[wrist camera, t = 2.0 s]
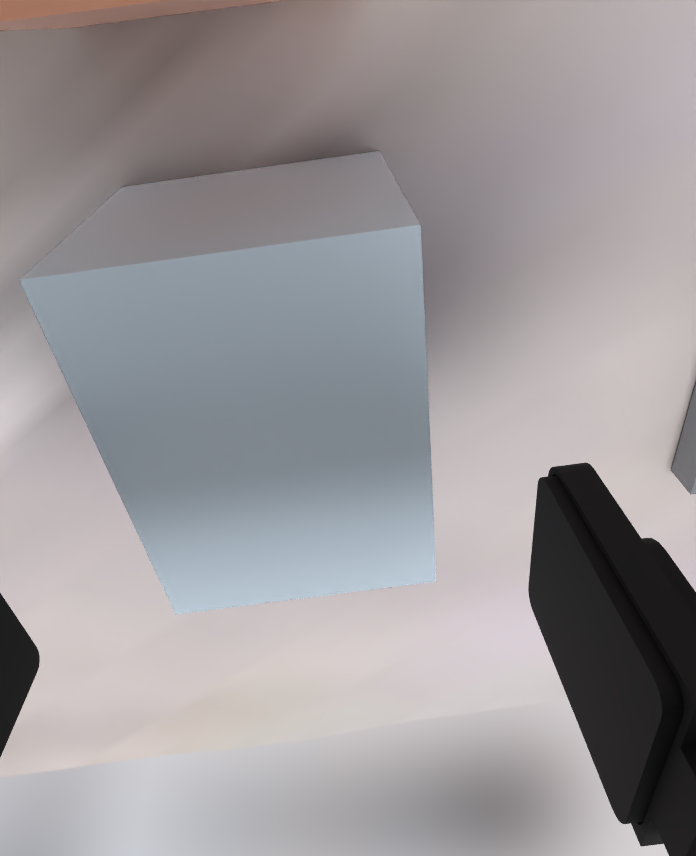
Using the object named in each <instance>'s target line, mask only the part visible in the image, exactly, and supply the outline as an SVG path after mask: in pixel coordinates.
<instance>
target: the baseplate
mask: <svg viewBox="0 0 696 856" xmlns="http://www.w3.org/2000/svg"><path fill="white" fill-rule="evenodd" d="M671 471H672V472H673V473H674V475H675V476H676V477H677V478H678V480H679V481H680V482H681V483H682V485H683V486H684V487H685V488H686V489H687V491H688V492H689V493H690V494H696V384H695V387H694V391H693V394H692V398H691V402H690V405H689V409H688V412H687V416H686V419H685V423H684V427H683V430H682V434H681V437H680V441H679V444H678V448H677V452H676V455H675V459H674V462H673V466H672V469H671Z"/></svg>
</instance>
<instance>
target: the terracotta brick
mask: <svg viewBox="0 0 696 856" xmlns="http://www.w3.org/2000/svg"><path fill="white" fill-rule="evenodd" d="M275 1H283V0H0V31H1V30H28V29H54V28H74V27H82V26H89V25H97V24H105V23H113V22H120V21H128V20H136V19H144V18H151V17H159V16H167V15H175V14H182V13H190V12H198V11H206V10H213V9H221V8H229V7H237V6H244V5H252V4H260V3H268V2H275Z"/></svg>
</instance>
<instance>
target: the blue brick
mask: <svg viewBox="0 0 696 856" xmlns="http://www.w3.org/2000/svg"><path fill="white" fill-rule="evenodd" d="M19 281H20V283H21V286H22V288H23V290H24V292H25V294H26V296H27V298H28V301H29V303H30V305H31V307H32V309H33V311H34V313H35V315H36V318H37V320H38V322H39V324H40V326H41V328H42V330H43V333H44V335H45V337H46V339H47V341H48V343H49V345H50V348H51V350H52V352H53V354H54V356H55V358H56V360H57V362H58V365H59V367H60V369H61V371H62V373H63V375H64V377H65V380H66V382H67V384H68V386H69V388H70V390H71V392H72V394H73V397H74V399H75V401H76V403H77V405H78V407H79V409H80V412H81V414H82V416H83V418H84V420H85V422H86V424H87V427H88V429H89V431H90V433H91V435H92V437H93V439H94V441H95V444H96V446H97V448H98V450H99V452H100V454H101V456H102V459H103V461H104V463H105V465H106V467H107V469H108V471H109V474H110V476H111V478H112V480H113V482H114V484H115V486H116V488H117V491H118V493H119V495H120V497H121V499H122V501H123V503H124V506H125V508H126V510H127V512H128V514H129V516H130V518H131V520H132V523H133V525H134V527H135V529H136V531H137V533H138V535H139V538H140V540H141V542H142V544H143V546H144V548H145V550H146V553H147V555H148V557H149V559H150V561H151V563H152V565H153V567H154V570H155V572H156V574H157V576H158V578H159V580H160V582H161V585H162V587H163V589H164V591H165V593H166V595H167V597H168V599H169V602H170V604H171V606H172V608H173V610H174V612H175V614H183V613H191V612H199V611H207V610H215V609H222V608H230V607H238V606H246V605H254V604H262V603H270V602H278V601H286V600H294V599H302V598H310V597H318V596H325V595H333V594H341V593H349V592H357V591H365V590H373V589H381V588H389V587H397V586H405V585H413V584H421V583H428V582H436V561H435V538H434V516H433V493H432V470H431V447H430V424H429V402H428V379H427V356H426V333H425V310H424V288H423V265H422V242H421V224H420V222H419V221H418V219H417V217H416V215H415V214H414V212H413V210H412V208H411V207H410V205H409V203H408V201H407V199H406V198H405V196H404V194H403V192H402V191H401V189H400V187H399V185H398V184H397V182H396V180H395V178H394V176H393V175H392V173H391V171H390V169H389V168H388V166H387V164H386V162H385V161H384V159H383V157H382V155H381V153H380V152H379V151H374V152H367V153H359V154H352V155H345V156H338V157H331V158H324V159H317V160H310V161H303V162H295V163H288V164H281V165H274V166H267V167H260V168H253V169H246V170H239V171H231V172H224V173H217V174H210V175H203V176H196V177H189V178H182V179H175V180H167V181H160V182H153V183H146V184H139V185H132V186H125V187H121V188H120V189H119V190H118V191H117V192H116V193H115V194H113V195H112V196H111V197H110V198H109V199H108V200H107V201H106V202H105V203H104V204H102V205H101V206H100V207H99V208H98V209H97V210H96V211H95V212H94V213H92V214H91V215H90V216H89V217H88V218H87V219H86V220H85V221H84V222H83V223H81V224H80V225H79V226H78V227H77V228H76V229H75V230H74V231H73V232H72V233H70V234H69V235H68V236H67V237H66V238H65V239H64V240H63V241H62V242H60V243H59V244H58V245H57V246H56V247H55V248H54V249H53V250H52V251H51V252H49V253H48V254H47V255H46V256H45V257H44V258H43V259H42V260H41V261H40V262H38V263H37V264H36V265H35V266H34V267H33V268H32V269H31V270H30V271H28V272H27V273H26V274H25V275H24V276H23V277H22V278H21V279H20V280H19Z"/></svg>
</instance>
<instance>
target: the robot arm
mask: <svg viewBox="0 0 696 856" xmlns="http://www.w3.org/2000/svg"><path fill="white" fill-rule="evenodd" d="M529 598H530V603H531V607H532V610H533V612H534V615H535V617H536V620H537V622H538V625H539V627H540V630H541V632H542V635H543V637H544V640H545V642H546V645H547V647H548V650H549V652H550V655H551V657H552V660H553V662H554V665H555V667H556V670H557V672H558V675H559V677H560V679H561V682H562V684H563V687H564V689H565V692H566V694H567V697H568V699H569V702H570V704H571V707H572V709H573V712H574V714H575V717H576V719H577V721H578V724H579V727H580V729H581V732H582V734H583V737H584V739H585V741H586V744H587V747H588V749H589V752H590V754H591V757H592V759H593V762H594V764H595V767H596V769H597V772H598V774H599V777H600V779H601V782H602V784H603V787H604V789H605V792H606V794H607V797H608V799H609V802H610V804H611V807H612V809H613V811H614V813H615V815H616V817H617V818H618V820H619V821H620V822H621V823H623V824H629V823H631V824H632V826H633V829H634V831H635V834H636V836H637V838H638V841H639V843H640V846H648V845H656V844H664V845H665V847H666V849H667V852H668V854H669V856H696V592H695V591H694V589H693V588H692V586H691V585H690V584H689V582H688V581H687V579H686V578H685V577H684V575H683V574H682V572H681V571H680V570H679V568H678V567H677V565H676V564H675V563H674V561H673V560H672V558H671V557H670V556H669V554H668V553H667V551H666V550H665V549H664V548H663V547H662V546H661V544H660V543H659V542H657V541H656V540H654V539H652V538H643V539H641V537H640V536H639V534H638V533H637V532H636V530H635V529H634V527H633V526H632V524H631V523H630V521H629V520H628V518H627V517H626V515H625V514H624V512H623V511H622V510H621V508H620V507H619V505H618V504H617V502H616V501H615V499H614V498H613V496H612V495H611V493H610V492H609V490H608V489H607V487H606V486H605V485H604V483H603V482H602V480H601V479H600V477H599V476H598V474H597V473H596V471H595V470H594V468H593V467H592V466H591V465H590V464H588V463H580V464H572V465H565V466H557V467H552V468H551V469H550V470H549V474H548V477H541V478H540V479H539V481H538V488H537V499H536V510H535V521H534V532H533V543H532V554H531V565H530V576H529ZM38 668H39V652H38V649H37V647H36V646H35V644H34V643H33V641H32V640H31V638H30V637H29V635H28V634H27V632H26V631H25V629H24V628H23V626H22V625H21V623H20V622H19V620H18V619H17V617H16V616H15V614H14V613H13V611H12V610H11V608H10V607H9V605H8V604H7V602H6V601H5V599H4V598H3V596H2V595H1V593H0V757H1V755H2V752H3V750H4V748H5V745H6V743H7V741H8V738H9V736H10V734H11V731H12V729H13V727H14V724H15V722H16V720H17V717H18V715H19V713H20V710H21V708H22V706H23V704H24V701H25V699H26V697H27V694H28V692H29V690H30V687H31V685H32V683H33V680H34V678H35V676H36V673H37V671H38Z"/></svg>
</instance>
